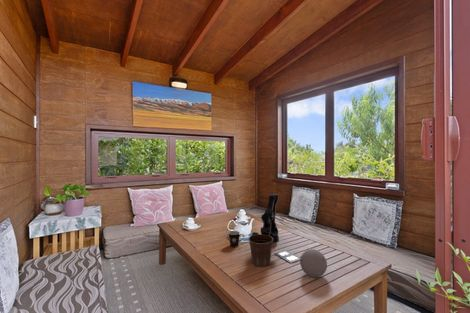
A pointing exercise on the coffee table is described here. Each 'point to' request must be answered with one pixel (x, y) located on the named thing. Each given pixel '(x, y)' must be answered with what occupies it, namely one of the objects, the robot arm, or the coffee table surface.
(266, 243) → the plant pot
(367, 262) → the coffee table surface
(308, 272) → the decorative ball
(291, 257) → the panel
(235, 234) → the coffee mug
